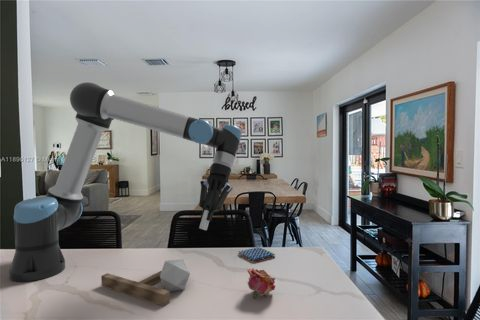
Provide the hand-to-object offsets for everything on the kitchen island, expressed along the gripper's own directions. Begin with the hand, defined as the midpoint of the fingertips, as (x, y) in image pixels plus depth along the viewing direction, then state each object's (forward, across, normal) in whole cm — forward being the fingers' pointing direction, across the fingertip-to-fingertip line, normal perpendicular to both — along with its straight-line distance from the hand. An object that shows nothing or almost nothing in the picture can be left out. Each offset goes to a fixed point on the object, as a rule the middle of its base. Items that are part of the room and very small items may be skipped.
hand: (202, 229), depth 106 cm
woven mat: (+5, -14, -18) cm, 23 cm away
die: (+18, -6, +13) cm, 24 cm away
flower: (+13, -29, +6) cm, 32 cm away
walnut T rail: (+19, +2, +14) cm, 24 cm away
